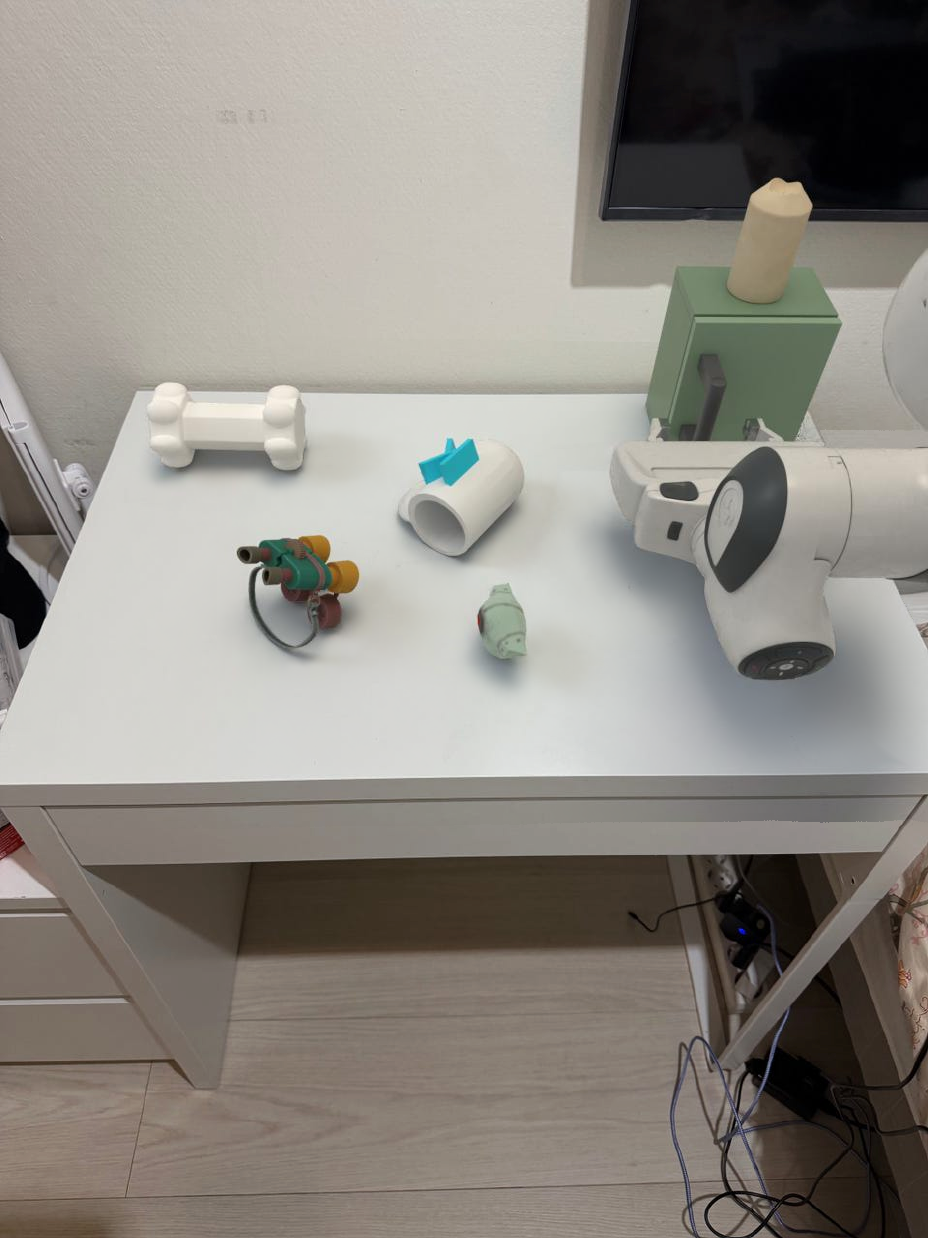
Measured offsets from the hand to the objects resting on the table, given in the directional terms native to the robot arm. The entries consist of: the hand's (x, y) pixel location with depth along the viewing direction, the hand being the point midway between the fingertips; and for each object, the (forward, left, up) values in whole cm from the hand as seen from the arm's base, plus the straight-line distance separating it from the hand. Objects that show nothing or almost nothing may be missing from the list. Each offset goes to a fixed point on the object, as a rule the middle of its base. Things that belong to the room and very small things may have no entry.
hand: (704, 423), depth 83 cm
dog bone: (+48, +7, -9) cm, 49 cm away
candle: (-2, -11, +8) cm, 14 cm away
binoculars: (+33, +26, -9) cm, 43 cm away
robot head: (+15, +26, -9) cm, 31 cm away
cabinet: (-2, -11, -9) cm, 14 cm away
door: (-4, -4, -8) cm, 10 cm away
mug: (+23, +9, -9) cm, 26 cm away
